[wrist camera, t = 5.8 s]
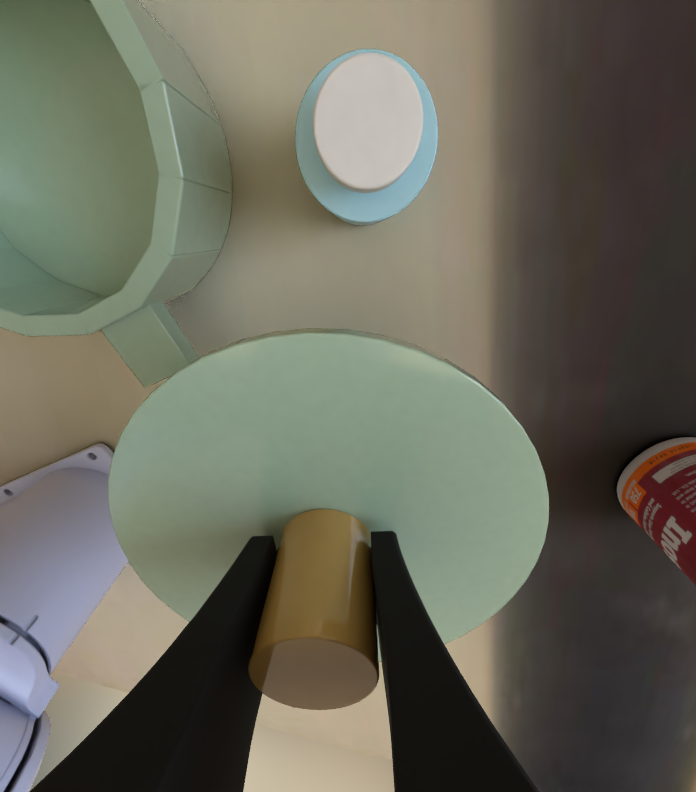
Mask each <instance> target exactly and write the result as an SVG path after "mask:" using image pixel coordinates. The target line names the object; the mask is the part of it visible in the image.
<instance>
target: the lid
mask: <svg viewBox="0 0 696 792" xmlns="http://www.w3.org/2000/svg"><path fill="white" fill-rule="evenodd" d="M108 505H109V510H110V516H111V521H112V525H113V528H114V531H115V534H116V537H117V539H118V542H119V545H120V547H121V548H122V550H123V552H124V554H125V556H126V558H127V560H128V562H129V563H130V565H131V566H132V567H133V569H134V570H135V572H136V573H137V574H138V576H139V577H140V579H141V580H142V581H143V582H144V583H145V584H146V586H147V587H148V588H149V589H150V590H151V591H152V592H153V593H154V594H155V595H156V596H157V597H158V598H159V599H160V600H161V601H162V602H164V603H165V604H166V605H167V606H168V607H169V608H171V609H172V610H173V611H174V612H176V613H177V614H178V615H180V616H181V617H183V618H184V619H186V620H187V621H188V622H190V621H191V620H192V618H193V617H194V616H195V615H196V613H197V612H198V611H199V609H200V608H201V607H202V605H203V604H204V603H205V601H206V600H207V599H208V597H209V596H210V595H211V593H212V592H213V591H214V589H215V588H216V587H217V585H218V584H219V583H220V581H221V580H222V578H223V577H224V575H225V574H226V573H227V571H228V570H229V568H230V567H231V566H232V564H233V563H234V561H235V560H236V558H237V557H238V555H239V554H240V552H241V551H242V550H243V548H244V547H245V545H246V544H247V542H248V541H249V539H250V538H251V537H252V536H272V535H273V537H274V541H275V545H276V550H277V553H276V557H275V560H274V564H273V568H272V572H271V576H270V580H269V584H268V588H267V592H266V596H265V600H264V604H263V608H262V612H261V616H260V620H259V624H258V627H257V631H256V635H255V639H254V643H253V647H252V651H251V655H250V659H249V663H248V672H249V677H250V679H251V681H252V683H253V684H254V686H255V687H256V688H257V689H258V690H259V691H260V692H262V693H263V694H264V695H266V696H267V697H269V698H271V699H273V700H275V701H277V702H279V703H282V704H285V705H288V706H292V707H297V708H302V709H311V710H328V709H336V708H342V707H346V706H349V705H352V704H355V703H357V702H359V701H361V700H363V699H365V698H366V697H367V696H369V695H370V694H371V693H372V692H373V690H374V689H375V687H376V685H377V683H378V680H379V662H382V660H381V653H380V645H379V637H378V630H377V618H376V600H375V590H374V582H373V569H372V555H371V532H373V531H393V532H395V533H396V534H397V539H398V543H399V546H400V549H401V553H402V555H403V558H404V561H405V564H406V566H407V569H408V571H409V574H410V576H411V578H412V581H413V583H414V585H415V588H416V590H417V592H418V594H419V596H420V598H421V600H422V602H423V604H424V607H425V609H426V611H427V613H428V615H429V617H430V619H431V621H432V623H433V625H434V626H435V628H436V630H437V632H438V634H439V636H440V638H441V639H442V641H443V643H444V644H446V643H448V642H450V641H452V640H455V639H457V638H459V637H461V636H463V635H465V634H466V633H468V632H470V631H471V630H473V629H475V628H476V627H478V626H479V625H481V624H483V623H484V622H485V621H486V620H488V619H489V618H490V617H492V616H493V615H494V614H496V613H497V612H498V611H499V610H500V609H501V608H502V607H503V606H504V605H505V604H506V603H507V602H508V601H509V600H511V599H512V598H513V597H514V595H515V594H516V593H517V592H518V590H519V589H520V588H521V586H522V585H523V584H524V583H525V581H526V580H527V578H528V577H529V575H530V573H531V571H532V570H533V568H534V566H535V564H536V563H537V560H538V558H539V555H540V552H541V550H542V547H543V544H544V542H545V537H546V532H547V526H548V521H549V494H548V489H547V483H546V477H545V472H544V470H543V467H542V464H541V462H540V459H539V456H538V454H537V451H536V449H535V447H534V445H533V443H532V442H531V440H530V438H529V437H528V435H527V433H526V432H525V430H524V428H523V427H522V425H521V424H520V423H519V422H518V420H517V419H516V418H515V417H514V416H513V414H512V413H511V412H510V411H509V410H508V409H507V407H506V406H505V405H504V404H503V403H502V401H501V400H500V399H499V398H498V397H497V396H496V395H495V394H494V393H493V392H491V391H490V390H489V389H488V388H487V387H486V386H485V385H483V384H482V383H481V382H480V381H479V380H478V379H476V378H475V377H474V376H472V375H471V374H469V373H468V372H466V371H465V370H463V369H461V368H460V367H458V366H457V365H455V364H453V363H452V362H450V361H449V360H447V359H445V358H443V357H441V356H438V355H436V354H434V353H432V352H430V351H427V350H425V349H423V348H421V347H419V346H416V345H413V344H410V343H407V342H403V341H400V340H397V339H393V338H390V337H387V336H383V335H378V334H372V333H366V332H360V331H354V330H348V329H322V328H306V329H296V330H286V331H275V332H271V333H266V334H262V335H258V336H254V337H249V338H245V339H241V340H238V341H236V342H233V343H231V344H228V345H225V346H223V347H220V348H218V349H215V350H213V351H210V352H208V353H207V354H205V355H203V356H201V357H200V358H198V359H196V360H194V361H193V362H191V363H189V364H187V365H186V366H184V367H182V368H181V369H180V370H179V371H177V372H176V373H175V374H173V375H172V376H171V377H170V378H168V379H167V380H166V381H165V382H163V383H162V384H161V385H160V386H158V387H157V388H156V389H155V390H153V391H152V393H151V394H150V395H149V396H148V397H147V398H146V399H145V400H144V401H143V403H142V404H141V405H140V406H139V407H138V408H137V409H136V410H135V412H134V413H133V415H132V416H131V418H130V420H129V421H128V423H127V425H126V426H125V428H124V430H123V431H122V433H121V435H120V438H119V440H118V443H117V445H116V448H115V451H114V453H113V456H112V460H111V466H110V471H109V477H108Z"/></svg>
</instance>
